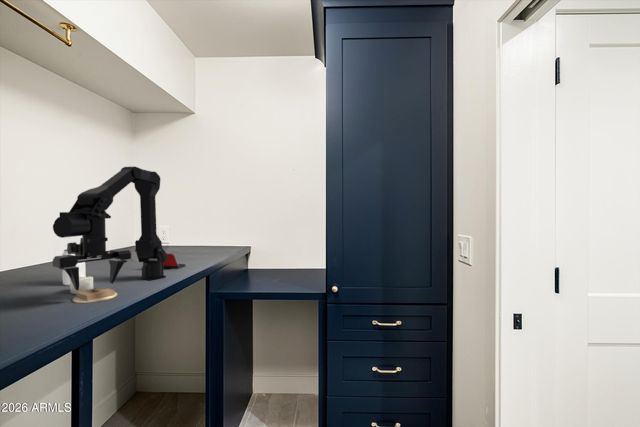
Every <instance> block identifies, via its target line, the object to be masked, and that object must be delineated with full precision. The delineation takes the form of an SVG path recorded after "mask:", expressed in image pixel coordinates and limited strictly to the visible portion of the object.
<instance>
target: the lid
mask: <svg viewBox="0 0 640 427" xmlns="http://www.w3.org/2000/svg"><path fill="white" fill-rule="evenodd" d="M115 292H116V291H115V290H114V289H111V288H107V287H104V286H101V287H98V288H93V289H90V290H85V291H80V292H76V294H75V295H76V296H75V297H77V298H80V299H83V300H86V301H90V300H94V299H99V298H104V297H108V296H113V295H115Z"/></svg>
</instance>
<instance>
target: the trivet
mask: <svg viewBox="0 0 640 427" xmlns="http://www.w3.org/2000/svg"><path fill="white" fill-rule="evenodd" d="M117 296H118V292H116V291H115V295H113V296H108V297H104V298H99V299H94V300H90V301H86V300H83V299H80V298H77V297H76V296H74V297H73V298H72V302H73V303H76V304H87V303H97V302H98V303H99V302H104V301H107V300H111V299H113V298H116V297H117Z"/></svg>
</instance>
